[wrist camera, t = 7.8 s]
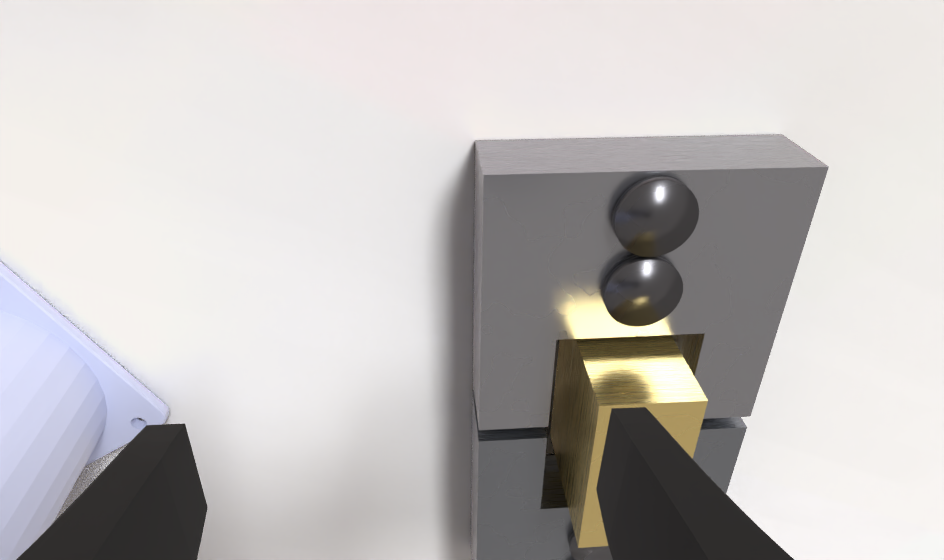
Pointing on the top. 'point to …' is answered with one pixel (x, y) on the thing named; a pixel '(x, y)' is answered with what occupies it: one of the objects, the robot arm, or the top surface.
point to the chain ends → (621, 296)
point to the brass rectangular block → (615, 386)
